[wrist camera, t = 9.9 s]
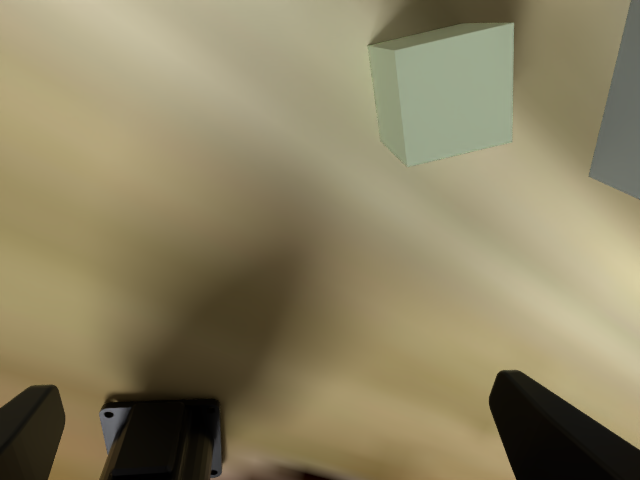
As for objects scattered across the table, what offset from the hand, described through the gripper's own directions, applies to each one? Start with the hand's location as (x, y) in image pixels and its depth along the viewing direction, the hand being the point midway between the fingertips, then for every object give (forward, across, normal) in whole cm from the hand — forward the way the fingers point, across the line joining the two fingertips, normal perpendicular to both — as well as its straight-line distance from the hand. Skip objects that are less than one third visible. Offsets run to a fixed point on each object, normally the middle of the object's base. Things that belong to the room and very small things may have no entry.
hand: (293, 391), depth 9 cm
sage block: (+12, -6, -5) cm, 14 cm away
